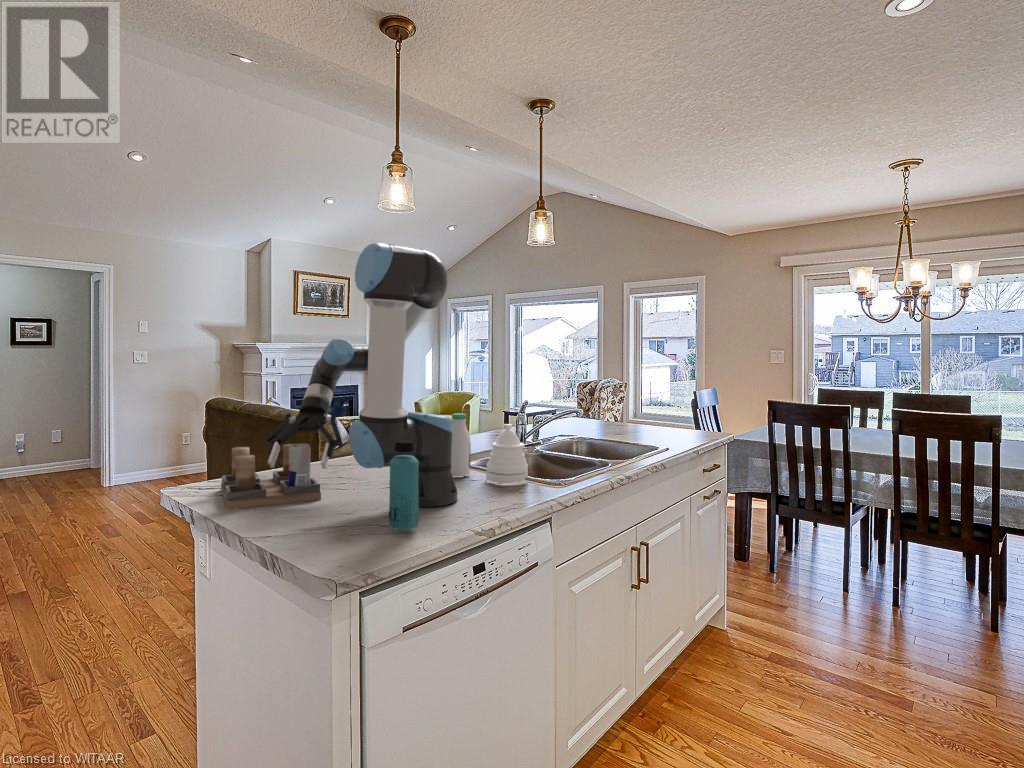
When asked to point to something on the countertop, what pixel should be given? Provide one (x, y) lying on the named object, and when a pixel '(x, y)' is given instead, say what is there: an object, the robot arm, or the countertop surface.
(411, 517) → the beverage bottle
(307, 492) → the pillar candle tray
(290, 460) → the energy drink
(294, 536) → the countertop surface
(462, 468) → the milk bottle
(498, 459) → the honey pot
